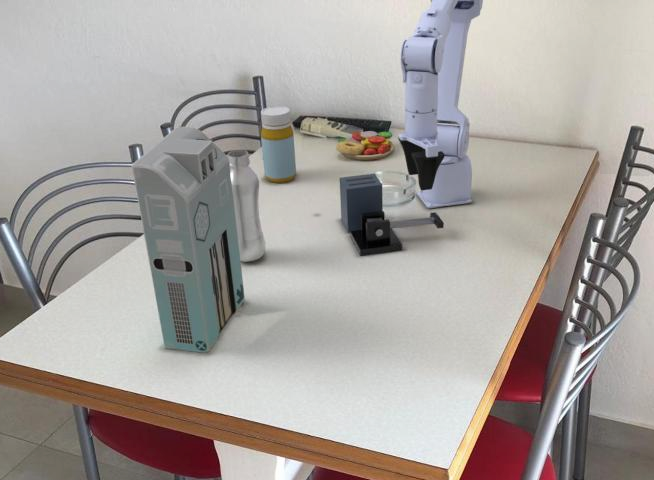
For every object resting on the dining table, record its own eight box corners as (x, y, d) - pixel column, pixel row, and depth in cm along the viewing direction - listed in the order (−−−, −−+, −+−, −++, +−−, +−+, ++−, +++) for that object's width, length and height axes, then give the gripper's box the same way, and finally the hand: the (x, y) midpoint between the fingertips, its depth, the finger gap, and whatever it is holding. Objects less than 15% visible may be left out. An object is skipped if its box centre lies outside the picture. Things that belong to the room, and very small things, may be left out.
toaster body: (375, 216, 174) (374, 172, 169) (382, 228, 169) (382, 184, 164) (341, 220, 173) (339, 177, 168) (347, 233, 168) (346, 188, 163)
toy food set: (333, 161, 200) (332, 147, 198) (342, 141, 210) (341, 128, 208) (390, 162, 198) (390, 148, 196) (397, 142, 208) (397, 128, 206)
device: (210, 354, 134) (182, 168, 117) (164, 348, 136) (130, 165, 119) (245, 302, 147) (225, 128, 130) (203, 298, 149) (178, 125, 132)
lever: (435, 220, 167) (435, 208, 165) (443, 231, 163) (444, 219, 161) (364, 227, 164) (364, 215, 163) (371, 238, 160) (371, 226, 159)
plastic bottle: (273, 252, 162) (263, 149, 151) (255, 268, 157) (244, 162, 146) (243, 247, 165) (231, 144, 153) (225, 262, 160) (211, 158, 148)
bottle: (300, 173, 194) (296, 106, 186) (289, 185, 189) (284, 117, 180) (272, 170, 196) (266, 104, 188) (260, 182, 191) (253, 114, 182)
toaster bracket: (390, 231, 168) (390, 205, 165) (402, 250, 161) (402, 223, 158) (350, 236, 167) (349, 211, 164) (360, 255, 160) (359, 229, 157)
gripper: (388, 98, 158) (389, 170, 166) (410, 123, 147) (410, 199, 154) (426, 94, 159) (424, 165, 167) (450, 119, 148) (448, 194, 155)
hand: (420, 181), depth 161 cm, fingers open, 7 cm apart
